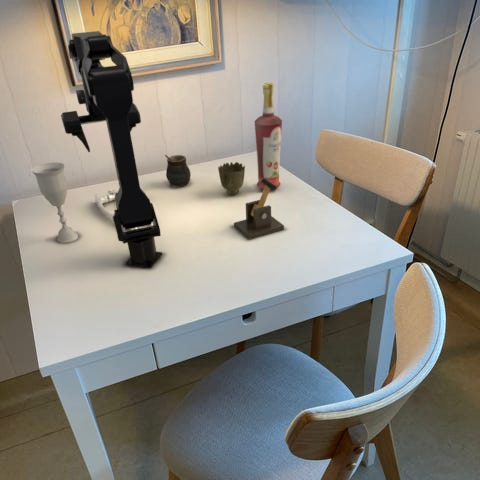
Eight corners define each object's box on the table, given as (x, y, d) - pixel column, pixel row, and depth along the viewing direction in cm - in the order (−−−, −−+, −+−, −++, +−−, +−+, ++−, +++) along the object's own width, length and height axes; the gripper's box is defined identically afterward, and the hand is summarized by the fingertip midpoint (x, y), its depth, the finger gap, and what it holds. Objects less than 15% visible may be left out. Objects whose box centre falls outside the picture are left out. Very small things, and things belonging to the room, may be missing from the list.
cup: (216, 191, 142) (214, 164, 137) (239, 186, 145) (237, 159, 140) (226, 201, 137) (224, 173, 132) (250, 195, 139) (249, 168, 134)
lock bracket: (248, 239, 119) (247, 215, 115) (233, 226, 124) (232, 203, 120) (284, 229, 122) (284, 206, 118) (268, 217, 128) (268, 194, 124)
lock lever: (270, 184, 115) (278, 186, 116) (260, 177, 118) (268, 179, 120) (257, 220, 118) (265, 221, 120) (247, 212, 122) (255, 214, 123)
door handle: (119, 194, 144) (162, 223, 127) (88, 204, 139) (128, 235, 123) (117, 186, 142) (160, 214, 126) (85, 195, 137) (126, 225, 121)
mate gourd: (196, 182, 149) (193, 149, 143) (181, 191, 144) (177, 157, 138) (177, 178, 152) (173, 145, 146) (162, 186, 147) (157, 153, 141)
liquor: (267, 195, 139) (266, 88, 122) (250, 188, 143) (247, 84, 126) (286, 188, 142) (288, 83, 125) (269, 181, 147) (269, 79, 130)
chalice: (52, 246, 120) (30, 175, 109) (53, 234, 125) (32, 164, 114) (83, 241, 121) (64, 170, 110) (82, 229, 126) (64, 160, 115)
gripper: (127, 70, 124) (134, 127, 136) (51, 79, 119) (65, 138, 131) (137, 90, 118) (144, 149, 130) (58, 101, 113) (72, 160, 125)
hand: (106, 148), depth 129 cm, fingers open, 9 cm apart
